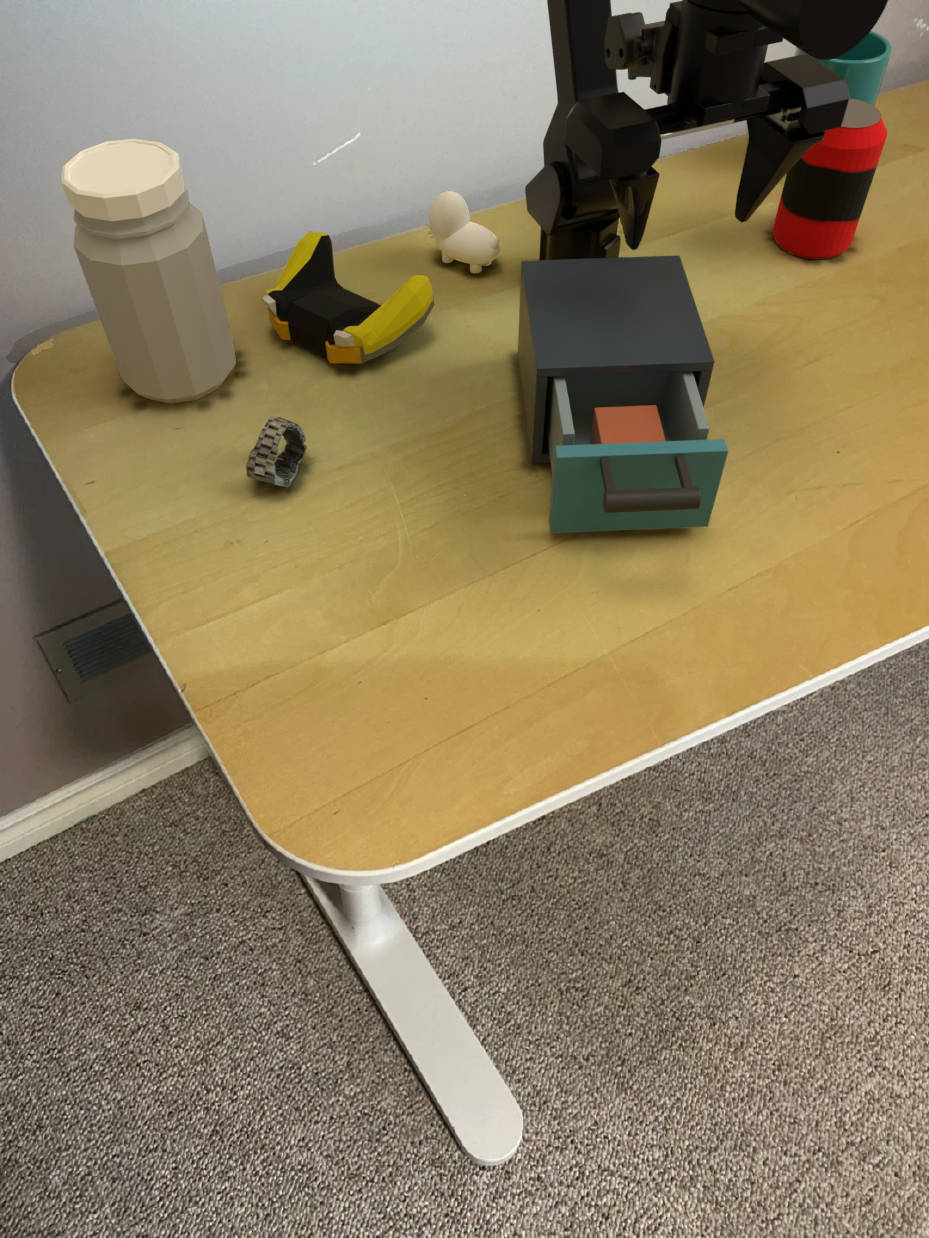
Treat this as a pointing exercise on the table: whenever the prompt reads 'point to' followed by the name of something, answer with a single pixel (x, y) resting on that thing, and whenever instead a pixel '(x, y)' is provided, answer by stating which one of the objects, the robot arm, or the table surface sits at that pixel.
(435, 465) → the table surface
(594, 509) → the drawer
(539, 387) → the small filing cabinet
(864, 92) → the cup
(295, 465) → the wristwatch
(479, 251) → the toy creature
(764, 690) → the table surface
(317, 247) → the gaming controller
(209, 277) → the jar
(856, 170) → the soda can
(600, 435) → the block
